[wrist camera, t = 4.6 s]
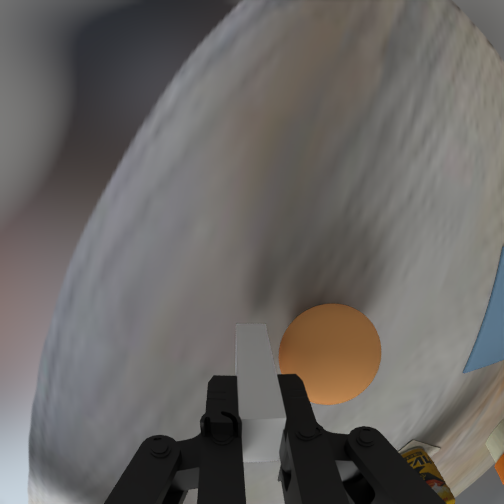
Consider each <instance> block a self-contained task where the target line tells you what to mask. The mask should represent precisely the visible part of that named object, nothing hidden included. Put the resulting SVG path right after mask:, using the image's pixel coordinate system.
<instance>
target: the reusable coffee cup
mask: <svg viewBox="0 0 504 504" xmlns="http://www.w3.org/2000/svg"><path fill="white" fill-rule="evenodd" d="M486 446H487V448H488V450H489V451H490V453H491V455H492V457H493V459H494V461H495V463H496V464H495V469H496V471H497V473H498V475H499V477H500V479H501V481H502V483H503V485H504V419H503V420H502V421H501V422H500V423H499V425H498V426H497V427H496V428H495V429H494V431H493V432H492V433H491V435H490V436H489V438H488V439H487V441H486Z"/></svg>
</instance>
